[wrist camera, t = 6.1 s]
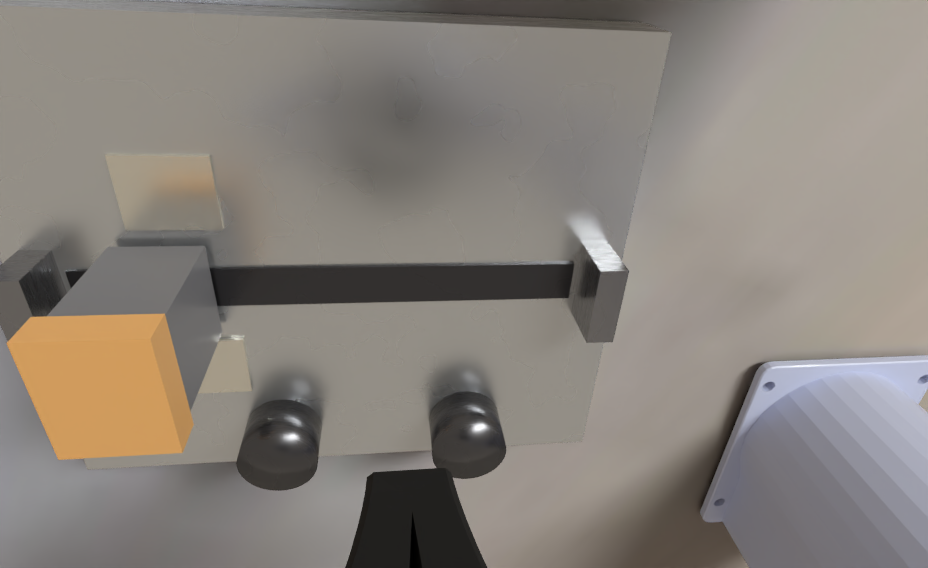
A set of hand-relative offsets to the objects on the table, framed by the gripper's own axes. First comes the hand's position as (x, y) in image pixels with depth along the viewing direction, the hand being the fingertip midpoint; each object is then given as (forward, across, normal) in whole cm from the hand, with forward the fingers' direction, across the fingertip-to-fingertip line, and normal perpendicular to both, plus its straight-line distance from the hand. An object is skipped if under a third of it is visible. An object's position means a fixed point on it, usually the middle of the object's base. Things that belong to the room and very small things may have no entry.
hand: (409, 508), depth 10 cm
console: (+10, +2, 0) cm, 10 cm away
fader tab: (+8, +6, 0) cm, 10 cm away
